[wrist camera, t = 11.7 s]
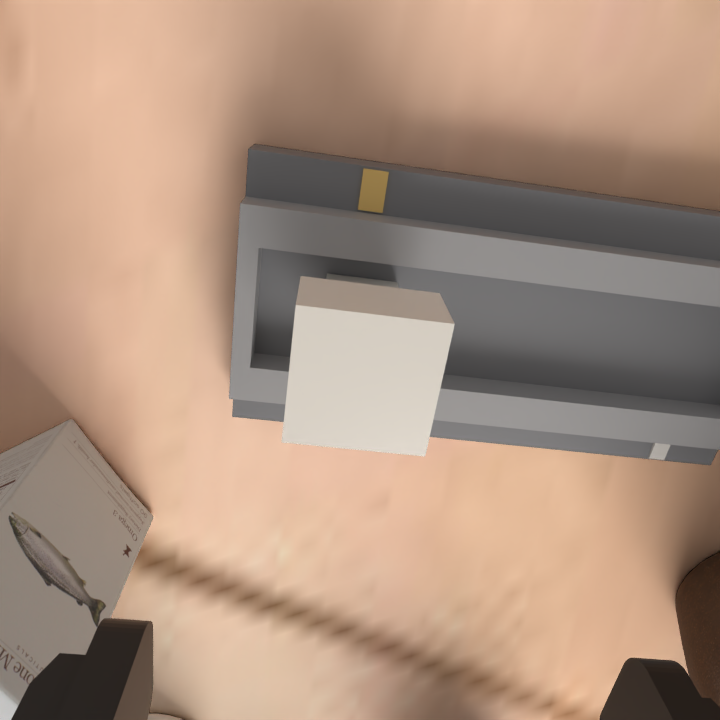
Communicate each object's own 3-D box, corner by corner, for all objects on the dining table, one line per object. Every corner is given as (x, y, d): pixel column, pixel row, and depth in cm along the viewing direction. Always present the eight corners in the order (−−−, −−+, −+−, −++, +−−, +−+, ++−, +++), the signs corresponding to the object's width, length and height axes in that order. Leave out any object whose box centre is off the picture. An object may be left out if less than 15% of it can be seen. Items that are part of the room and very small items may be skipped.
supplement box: (159, 515, 33) (65, 748, 21) (48, 563, 34) (-97, 809, 23) (75, 411, 30) (-86, 617, 18) (-43, 468, 31) (-263, 694, 20)
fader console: (787, 221, 27) (847, 239, 24) (689, 443, 32) (728, 483, 29) (254, 143, 25) (243, 153, 22) (238, 396, 30) (227, 433, 27)
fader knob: (424, 262, 25) (454, 324, 19) (404, 368, 27) (425, 456, 21) (305, 247, 25) (295, 304, 18) (294, 356, 27) (281, 442, 20)
